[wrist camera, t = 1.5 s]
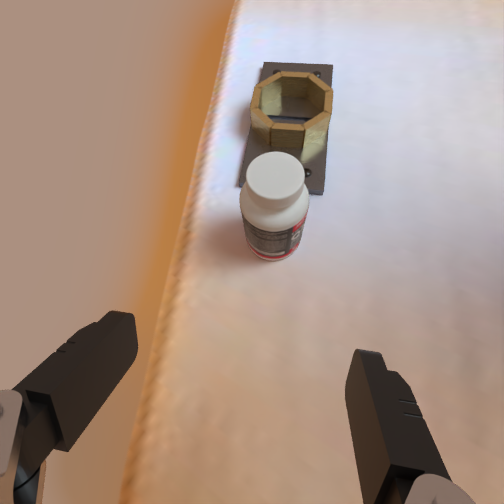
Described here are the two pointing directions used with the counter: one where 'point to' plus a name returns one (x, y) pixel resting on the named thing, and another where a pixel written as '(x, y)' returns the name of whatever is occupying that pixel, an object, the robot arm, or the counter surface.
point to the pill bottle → (274, 205)
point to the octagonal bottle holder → (292, 117)
